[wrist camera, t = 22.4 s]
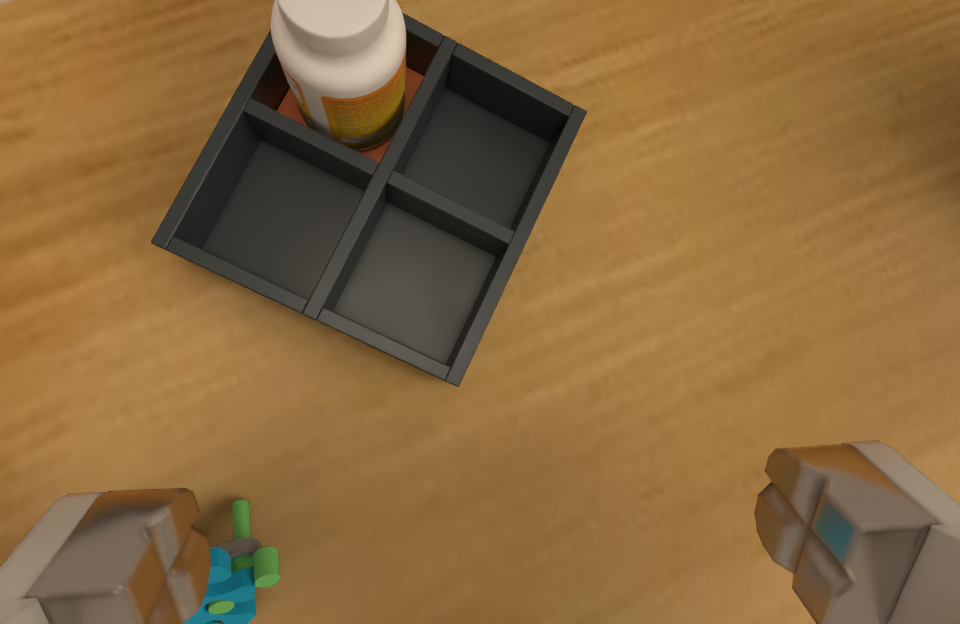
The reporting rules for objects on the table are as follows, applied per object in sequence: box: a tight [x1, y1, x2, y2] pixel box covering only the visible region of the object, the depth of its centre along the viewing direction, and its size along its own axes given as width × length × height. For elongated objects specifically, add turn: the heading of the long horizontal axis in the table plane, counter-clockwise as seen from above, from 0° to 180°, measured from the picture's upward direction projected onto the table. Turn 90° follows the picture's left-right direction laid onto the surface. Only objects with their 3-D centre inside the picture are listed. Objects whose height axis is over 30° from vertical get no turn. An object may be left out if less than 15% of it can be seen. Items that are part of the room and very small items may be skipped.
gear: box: [184, 499, 280, 624], centre depth 25 cm, size 11×6×10 cm
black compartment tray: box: [151, 13, 587, 387], centre depth 28 cm, size 15×15×4 cm
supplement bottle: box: [271, 0, 406, 151], centre depth 25 cm, size 5×5×10 cm
